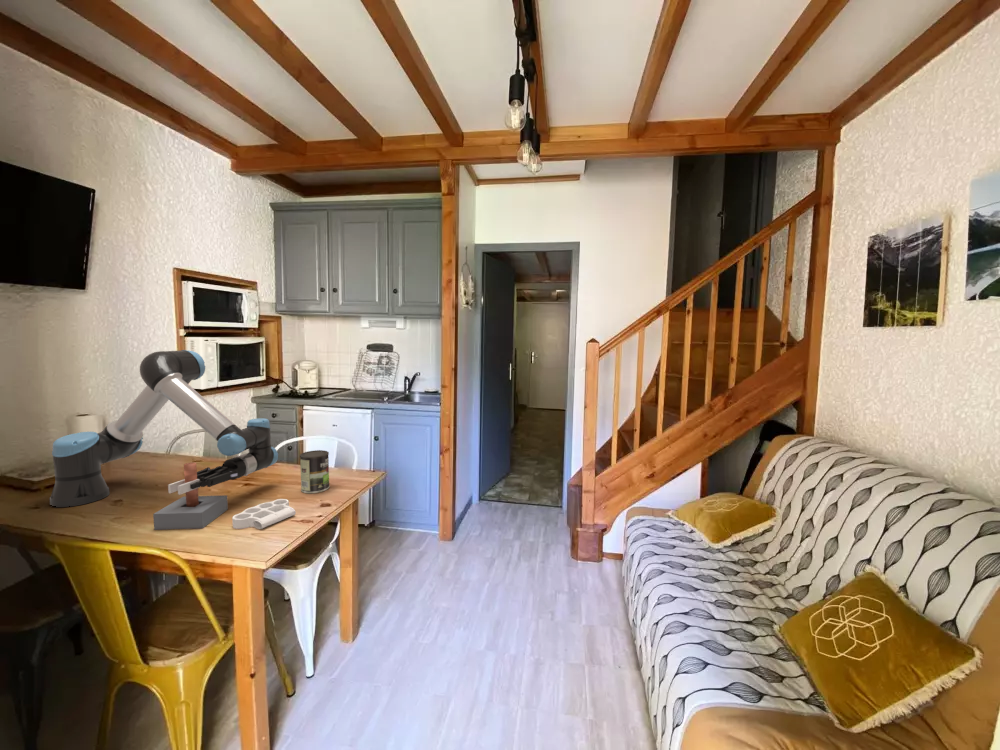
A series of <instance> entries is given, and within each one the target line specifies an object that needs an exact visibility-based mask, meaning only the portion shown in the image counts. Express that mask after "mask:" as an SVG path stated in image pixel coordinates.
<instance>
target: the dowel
mask: <svg viewBox="0 0 1000 750" xmlns="http://www.w3.org/2000/svg"><path fill="white" fill-rule="evenodd" d="M197 472H198V470H197V462H187V463H184V464H183V473H184V474H183V475H184V479H185V483H187V482H190V481H193V480H196V479H197ZM185 496H186V506H187V507H196V506H197V505H199V500H198V496H199V488H197V489H194V490H191V491H189V492H186V493H185Z"/></svg>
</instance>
